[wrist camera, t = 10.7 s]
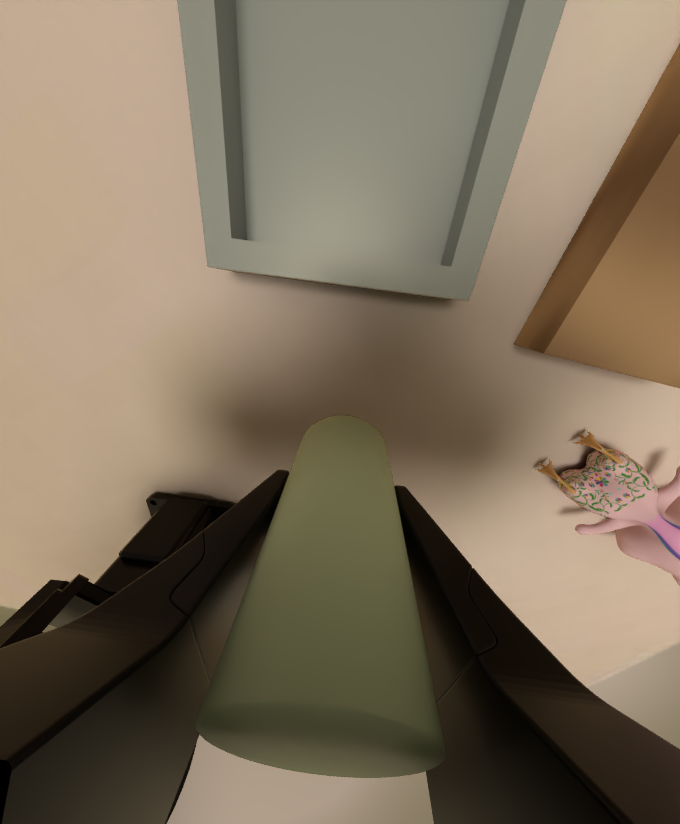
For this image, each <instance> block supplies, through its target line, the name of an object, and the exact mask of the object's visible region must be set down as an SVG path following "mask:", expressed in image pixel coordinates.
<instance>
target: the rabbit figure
mask: <svg viewBox="0 0 680 824" xmlns="http://www.w3.org/2000/svg"><path fill="white" fill-rule="evenodd" d="M587 432H588V433H589V435H587V437H584V436H582V435H581V434H580V433H578V435H579V436H581V437H582V440H581V441H580V442H572V443H574V444H581V445H584V444H585V445H587V446H590V447H592V448H594V449H596V450H595V451H593V452H591V453H590V454H589V455H588V457H587V463H586V467H585V468H583V469H579V470H575V469H572V470H566V471H564V472H562V473H561V474H560V475H559V476H558V475H557V474H556V472H555V471H554V470H553V468H552V465H551V464H552V461H551V460H550V459H549V462H550V463H549V464H548V465H547V466H544V465H542V464H541V463H539V465H541V466H543V468H542V469H541V470H539V469H536V468H535V469H536V470H538V471H539V472H541V473H545V474H547V475H548V476H550V477H552V478H553V479H555V480H556V481H558V485H559V488H560V489H561V491H562V492H563V493H564V494H565V495H566V496H567V497H569V498H570V499H571V500H573V501H574V502H576V503H577V504H578V505H580V506H582V507H583V508H585V509H587V510H589V511H591V512H593V513H595V514H598V515H601V516H604V517H608V518H607V519H606V520H604V521H601V522H599V523H596V524H592V525H585V524H580V525H577V526H576V527H575V530H576V531H577V532H578V533H579V534H584V535H586V534H597V533H605V532H610V531H614V530H616V540H617V544H618V547H619V548H620V550H621V551H622V552H623V553H625V554H626V555H628V556H630V557H633V558H635V559H638V560H641V561H644V562H647V563H650V564H653V565H655V566H657V567H659V568H661V569H663V570H665V571H667V572H669V573H671V574H672V576H673V577H674V579H675V580H676V582H677V583H678V584H679V585H680V466H679V467H678V468H677V471H676V476H675V478H674V479H673V480H672V481H671V482H670V483H669V484H667V485H666V486H664V487H663V488H661V489H658V490H657V487H656V484H655V482H654V480H653V479H652V477H651V476H650V475H649V473H648V472H647V471H646V470H645V469H644V468H643V467H642V466H640V465H639V464H638V463H637V462H635V461H634V460H633V459H632V458H630V457H629V456H627V455H626V454H624V453H622V452H620V451H617V450H613V449H604V448H603V447H602V446H601V445H600V444H599V443H598V442H597V441H596V440H595V439H594V435H592V433H590V432H589V431H588V430H587Z"/></svg>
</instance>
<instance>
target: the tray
mask: <svg viewBox="0 0 680 824" xmlns="http://www.w3.org/2000/svg"><path fill="white" fill-rule="evenodd" d="M566 1H567V0H177V2H178V11H179V20H180V28H181V37H182V46H183V55H184V64H185V73H186V81H187V90H188V99H189V108H190V117H191V125H192V134H193V143H194V152H195V161H196V169H197V178H198V187H199V196H200V205H201V213H202V222H203V231H204V240H205V249H206V257H207V266H208V267H211V268H217V269H222V270H228V271H234V272H242V273H249V274H257V275H265V276H272V277H280V278H288V279H296V280H303V281H311V282H319V283H326V284H334V285H342V286H349V287H357V288H365V289H373V290H380V291H388V292H396V293H403V294H411V295H419V296H427V297H434V298H442V299H450V300H465V301H469V299H470V296H471V293H472V290H473V287H474V284H475V281H476V278H477V275H478V272H479V268H480V265H481V262H482V259H483V256H484V253H485V250H486V247H487V244H488V241H489V238H490V235H491V232H492V228H493V225H494V222H495V219H496V216H497V213H498V210H499V207H500V204H501V201H502V198H503V195H504V192H505V188H506V185H507V182H508V179H509V176H510V173H511V170H512V167H513V164H514V161H515V158H516V155H517V152H518V148H519V145H520V142H521V139H522V136H523V133H524V130H525V127H526V124H527V121H528V118H529V115H530V112H531V108H532V105H533V102H534V99H535V96H536V93H537V90H538V87H539V84H540V81H541V78H542V75H543V72H544V68H545V65H546V62H547V59H548V56H549V53H550V50H551V47H552V44H553V41H554V38H555V35H556V32H557V28H558V25H559V22H560V19H561V16H562V13H563V10H564V7H565V4H566Z"/></svg>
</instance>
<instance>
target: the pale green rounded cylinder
mask: <svg viewBox="0 0 680 824" xmlns="http://www.w3.org/2000/svg"><path fill="white" fill-rule="evenodd" d="M196 729H197V731H198V733H199V734H200V735H201V736H202V737H203V738H204V739H205V740H206V741H208V742H209V743H211V744H212V745H214V746H216V747H218V748H220V749H222V750H224V751H226V752H228V753H231V754H233V755H236V756H238V757H241V758H244V759H247V760H250V761H254V762H257V763H261V764H264V765H268V766H272V767H277V768H282V769H286V770H292V771H297V772H304V773H310V774H318V775H327V776H338V777H355V778H357V777H358V778H380V777H397V776H404V775H412V774H417V773H421V772H424V771H428V770H430V769H433V768H435V767H437V766H438V765H440V764H441V763H442V762H443V761H444V760H445V757H446V750H445V745H444V740H443V735H442V730H441V725H440V719H439V714H438V709H437V704H436V699H435V694H434V689H433V683H432V678H431V673H430V668H429V663H428V658H427V653H426V647H425V642H424V637H423V632H422V627H421V622H420V617H419V611H418V606H417V601H416V596H415V591H414V586H413V581H412V575H411V570H410V565H409V560H408V555H407V550H406V545H405V539H404V534H403V529H402V524H401V519H400V514H399V509H398V503H397V498H396V493H395V488H394V483H393V478H392V473H391V468H390V462H389V457H388V452H387V447H386V443H385V440H384V438H383V436H382V435H381V433H380V432H379V431H378V430H377V429H376V428H375V427H374V426H373V425H372V424H370V423H368V422H367V421H365V420H363V419H360V418H357V417H353V416H347V415H337V416H331V417H327V418H324V419H322V420H320V421H318V422H316V423H315V424H313V425H312V426H311V427H310V428H309V429H308V430H307V431H306V433H305V434H304V436H303V438H302V441H301V444H300V446H299V449H298V452H297V454H296V457H295V460H294V462H293V465H292V468H291V470H290V473H289V476H288V478H287V481H286V484H285V486H284V489H283V492H282V494H281V497H280V500H279V502H278V505H277V508H276V510H275V513H274V516H273V518H272V521H271V524H270V526H269V529H268V532H267V534H266V537H265V540H264V542H263V545H262V548H261V550H260V553H259V555H258V558H257V561H256V563H255V566H254V569H253V571H252V574H251V577H250V579H249V582H248V585H247V587H246V590H245V593H244V595H243V598H242V601H241V603H240V606H239V609H238V611H237V614H236V617H235V619H234V622H233V625H232V627H231V630H230V633H229V635H228V638H227V641H226V643H225V646H224V649H223V651H222V654H221V657H220V659H219V662H218V665H217V667H216V670H215V673H214V675H213V678H212V681H211V683H210V686H209V689H208V691H207V694H206V697H205V699H204V702H203V705H202V707H201V710H200V713H199V715H198V718H197V721H196Z"/></svg>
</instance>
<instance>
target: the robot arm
mask: <svg viewBox="0 0 680 824" xmlns="http://www.w3.org/2000/svg"><path fill="white" fill-rule="evenodd" d="M288 476H289V471H286V470H277V471H276V472H275V473H274V474H272V475H271V476H270V477H269V478H267V479H266V480H265V481H264V482H262V483H261V484H260V485H259V486H258V487H256V488H255V489H254V490H253V491H251V492H250V493H249V494H248V495H246V496H245V497H244V498H243V499H241V500H240V501H239V502H238V503H236V504H235V505H234V504H231V503H223V502H216V501H208V500H201V499H193V498H186V497H178V496H171V495H163V494H151V495H150V496H149V497H148V498H147V500H146V502H147V505H148V508H149V511H150V514H151V518H150V520H149V521H148V522H147V523H146V524H145V525H144V526H143V527H142V528H141V529H140V530H139V532H138V533H137V534H136V535H135V536H134V537H133V538H132V539H131V540H130V541H129V542H128V544H127V545H126V546H125V547H124V548H123V549H122V550H121V551H120V553H119V557H118V558H117V559H116V560H115V561H114V563H113V564H112V565H111V566H110V567H109V568H108V569H107V570H106V571H105V573H104V574H103V575H102V576H101V577H100V578H99V579H98V580H97V581H96V582H95V584H92V583H90V582H88V580H89V579H88V578H86V577H84V576H82V575H80V574H79V575H77V576H76V577H75V578H74V579H73V580H72V581H71V582H68V581H59V580H50V581H49V582H48V583H47V584H46V585H45V586H44V587H43V588H41V589H40V590H39V591H38V592H37V593H36V594H35V595H34V596H33V597H32V598H31V599H30V600H29V601H28V602H26V603H25V604H24V605H23V606H22V607H21V608H20V609H19V610H18V611H17V612H16V613H15V614H14V615H13V616H12V617H11V618H9V619H8V620H7V621H6V622H5V623H4V624H3V625H2V626H1V627H0V824H166V823H167V821H168V819H169V817H170V815H171V813H172V811H173V809H174V807H175V805H176V802H177V800H178V798H179V795H180V793H181V791H182V788H183V785H184V783H185V780H186V777H187V774H188V771H189V769H190V765H191V762H192V758H193V755H194V751H195V747H196V742H197V739H198V737H199V733H198V731H197V729H196V721H197V718H198V715H199V713H200V710H201V707H202V705H203V702H204V699H205V697H206V694H207V691H208V689H209V686H210V683H211V681H212V678H213V675H214V673H215V670H216V667H217V665H218V662H219V659H220V657H221V654H222V651H223V649H224V646H225V643H226V641H227V638H228V635H229V633H230V630H231V627H232V625H233V622H234V619H235V617H236V614H237V611H238V609H239V606H240V603H241V601H242V598H243V595H244V593H245V590H246V587H247V585H248V582H249V579H250V577H251V574H252V571H253V569H254V566H255V563H256V561H257V558H258V555H259V553H260V550H261V548H262V545H263V542H264V540H265V537H266V534H267V532H268V529H269V526H270V524H271V521H272V518H273V516H274V513H275V510H276V508H277V505H278V502H279V500H280V497H281V494H282V492H283V489H284V486H285V484H286V481H287V478H288ZM394 488H395V493H396V498H397V503H398V509H399V514H400V519H401V524H402V529H403V534H404V539H405V545H406V550H407V555H408V560H409V565H410V570H411V575H412V581H413V586H414V591H415V596H416V601H417V606H418V611H419V617H420V622H421V627H422V632H423V637H424V642H425V647H426V653H427V658H428V663H429V668H430V673H431V678H432V683H433V689H434V694H435V699H436V704H437V709H438V714H439V719H440V725H441V730H442V735H443V740H444V745H445V750H446V757H445V760H444V761H443V762H442V763H441V764H440V765H438V766H437V767H435V768H433V769H430V770H428V771H426V775H427V782H428V788H429V795H430V801H431V807H432V814H433V820H434V824H680V749H679V748H677V747H676V746H674V745H672V744H671V743H669V742H668V741H666V740H664V739H663V738H661V737H660V736H658V735H656V734H655V733H653V732H652V731H650V730H648V729H647V728H645V727H644V726H642V725H640V724H639V723H637V722H636V721H634V720H632V719H631V718H629V717H628V716H626V715H624V714H623V713H621V712H620V711H618V710H616V709H615V708H613V707H612V706H610V705H609V704H607V703H606V702H604V701H603V700H602V699H600V698H599V697H598V696H596V695H595V694H594V693H593V692H591V691H590V690H589V689H588V688H586V687H585V686H584V685H583V684H582V683H581V682H580V681H579V680H578V679H576V678H575V677H574V676H573V675H572V674H571V673H570V672H569V671H568V670H567V669H566V668H565V667H564V666H563V665H562V664H561V663H560V662H559V660H558V659H557V658H556V657H555V656H554V655H553V654H552V653H551V652H550V651H549V650H548V649H547V648H546V647H545V646H544V645H543V644H542V643H541V642H540V641H539V640H538V639H537V637H536V636H535V635H534V634H533V633H532V632H531V631H530V630H529V629H528V628H527V627H526V626H525V625H524V624H523V623H522V622H521V621H520V620H519V619H518V618H517V617H516V615H515V614H514V613H513V612H512V611H511V610H510V609H509V608H508V607H507V606H506V605H505V604H504V603H503V601H502V600H501V599H500V598H499V597H498V596H497V595H496V594H495V593H494V591H493V590H492V589H491V588H490V587H489V586H488V584H487V583H486V582H485V581H484V580H483V579H482V578H481V576H480V575H479V574H478V573H477V572H476V570H475V569H474V568H472V566H471V564H470V563H469V562H468V561H467V560H466V559H465V557H464V556H463V555H462V554H461V553H460V551H459V550H458V549H457V548H456V547H455V545H454V544H453V543H452V542H451V541H450V539H449V538H448V537H447V536H446V535H445V533H444V532H443V531H442V530H441V529H440V527H439V526H438V525H437V524H436V523H435V521H434V520H433V519H432V518H431V517H430V515H429V514H428V513H427V512H426V511H425V509H424V508H423V507H422V506H421V505H420V503H419V502H418V501H417V500H416V499H415V498H414V496H413V495H412V494H411V493H410V492H409V490H408V489H407V488H406V487H404V486H397V485H396V486H394ZM49 624H50V625H52V626H55V627H57V628H56V629H53V630H51V631H48V632H45V633H43V632H42V631H43V630H44V629H45V628H46V627H47V626H48V625H49Z"/></svg>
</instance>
